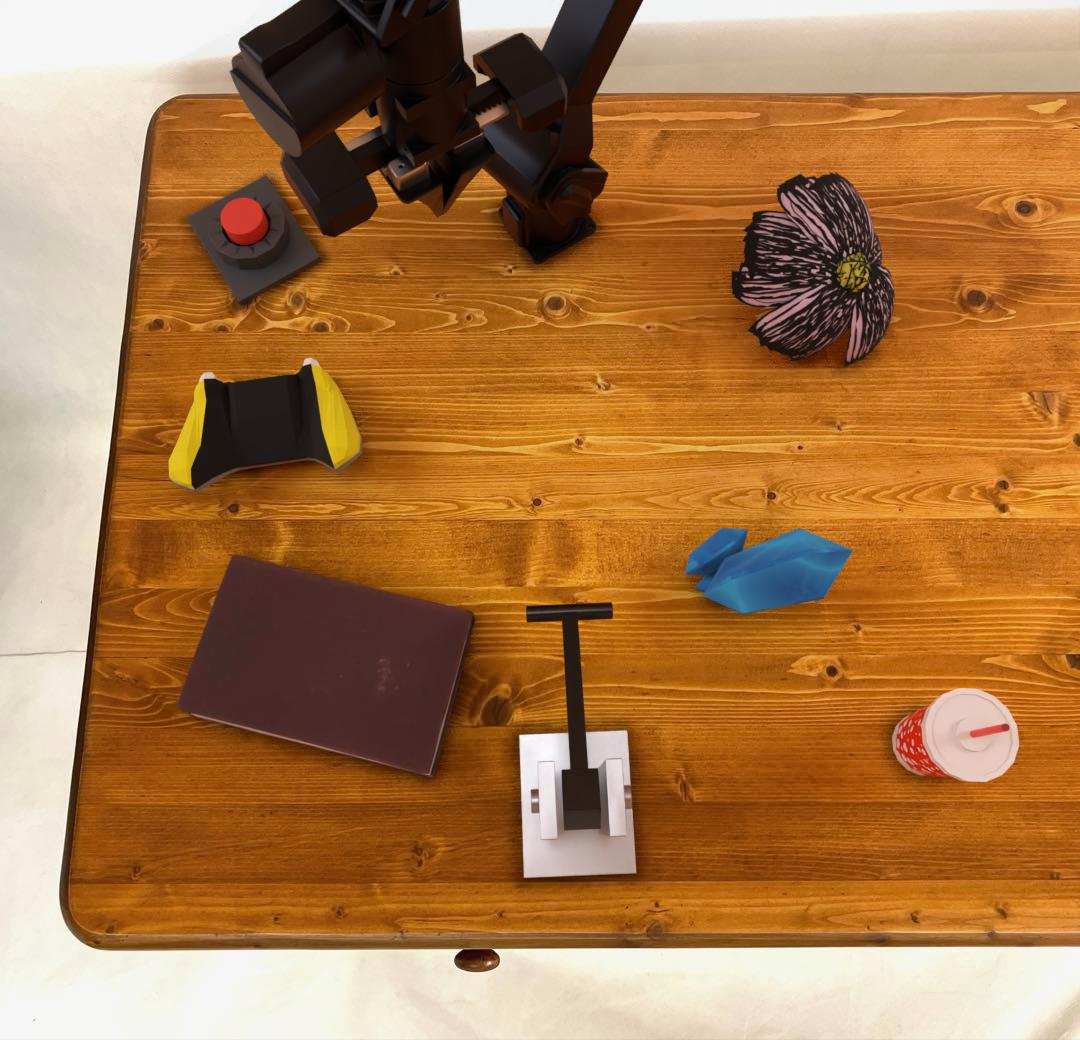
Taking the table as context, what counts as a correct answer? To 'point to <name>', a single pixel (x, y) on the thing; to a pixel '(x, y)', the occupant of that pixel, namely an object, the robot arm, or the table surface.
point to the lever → (575, 713)
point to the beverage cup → (958, 737)
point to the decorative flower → (816, 271)
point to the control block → (256, 244)
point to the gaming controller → (264, 426)
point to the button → (244, 221)
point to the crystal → (766, 569)
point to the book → (329, 664)
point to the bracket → (543, 808)
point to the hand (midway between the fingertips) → (438, 210)
